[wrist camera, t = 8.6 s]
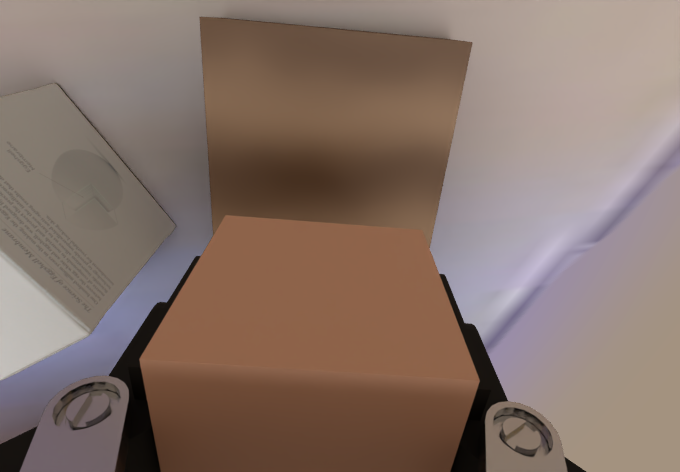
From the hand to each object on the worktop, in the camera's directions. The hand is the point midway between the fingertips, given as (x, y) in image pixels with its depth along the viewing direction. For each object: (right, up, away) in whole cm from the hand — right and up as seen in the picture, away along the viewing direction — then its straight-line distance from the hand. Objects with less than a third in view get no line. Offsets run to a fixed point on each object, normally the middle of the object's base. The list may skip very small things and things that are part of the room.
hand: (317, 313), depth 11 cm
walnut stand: (0, +7, +14) cm, 15 cm away
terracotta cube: (0, 0, 0) cm, 1 cm away
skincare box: (-15, +5, +15) cm, 22 cm away
